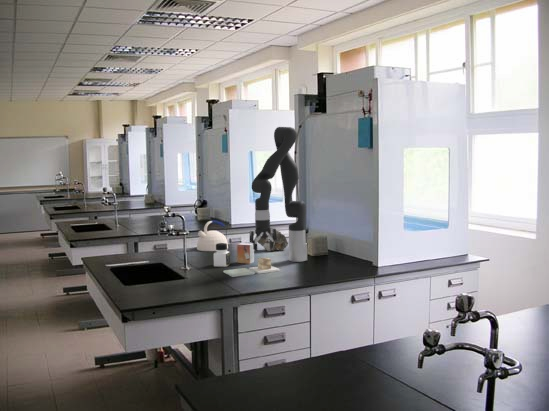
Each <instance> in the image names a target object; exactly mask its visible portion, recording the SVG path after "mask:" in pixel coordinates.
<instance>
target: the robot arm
mask: <svg viewBox="0 0 549 411" xmlns="http://www.w3.org/2000/svg"><path fill="white" fill-rule="evenodd" d="M297 137H298V132H297V130H296V129H295V128H294V127H290V126H277V127H276V128H275V130H274V133H273V139H274V145H275V148H276V150H275V151H274V152H273V153H272V154H271V155H270V156H268V158H267V159H266V161H265V163H264V165H263V167H262V169H261V170H260V172H258V174H257V175H256V176H255V178H253V181H252V183H251V189H252V192H253V193H255V194H260V195H259V197H257V198H256V199H255V201H254V206H255V207H254V208H255V209H254V220H255V222H254V223H255V224H254V227H255V230H250V231H249V243H250V244H253V249H254V252H258V244H257V243H258V240H259V239H260V238H261V239H263V238H268V239H269V240H270V242H269V245H270V249H273V242H274V241H275V240H277V236H276V231H277V229H276V228H273V227H271V214H270V203H269V202H270V199H271V198H270V197H271V193H272V190H273V189H272V183H271V182H270V180H272V179H273V178H274V177H275V175H276V173H277V171H278V169H279V167H280V176H281V177H280V178H281V182H282V187H283V188H282V189H283V196H284V197H283V199H284V211H285V214H286V216H287V218H295V219H296V218H297V221H295V222H294V223H290V224H288V260H289V262H292V263H293V262H294V263H296V262H297V263H302V262H305V261H308V243H307V242H306V225H307V224H306V223H307V222H306V221H307V215H306V214H307V205H306V204H307V203H305V201H303V200H293V192H294V190H295V187H296V186H297V184H298V182H299V169H298V165H297V163H296V161H295V160H294V159H293V157H292V156H291V154H290V153H289V151H290V150H291V149H292V147H294V144H295V143H296V141H297ZM270 228H272V229H270ZM270 232H271V233H272V237H273V238H272V237H271V236H270V235H269V234H270Z"/></svg>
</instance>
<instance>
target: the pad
mask: <svg viewBox="0 0 549 411" xmlns="http://www.w3.org/2000/svg"><path fill="white" fill-rule="evenodd" d="M248 269H249V270H251V271H253V272H255V274H266V273H268V274H269V273H275V272H280V271H281V269H280V268H278V267H275V266H273V265H271V269H264V270H262V269H259V268H258V266H252V267H248Z"/></svg>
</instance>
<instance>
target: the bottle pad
mask: <svg viewBox="0 0 549 411" xmlns="http://www.w3.org/2000/svg"><path fill="white" fill-rule="evenodd" d="M223 273H224V274H226V275H228V276H229V277H231V278H234V277H235V278H236V277H242V276H244V277H245V276H252V275H256V272H253V271H251V270H249V268H247V267H244V268H243V267H241V268H235V269H234V268H233V269H225V270H223Z"/></svg>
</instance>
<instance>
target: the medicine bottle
mask: <svg viewBox="0 0 549 411" xmlns="http://www.w3.org/2000/svg"><path fill="white" fill-rule="evenodd" d="M230 253H231V251H228V249H227V244H226V243H218V244H216V251H214V253H213V267H221V268H222V267H225V268H226V267H228V266H229V265H230V264H231V254H230Z"/></svg>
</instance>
